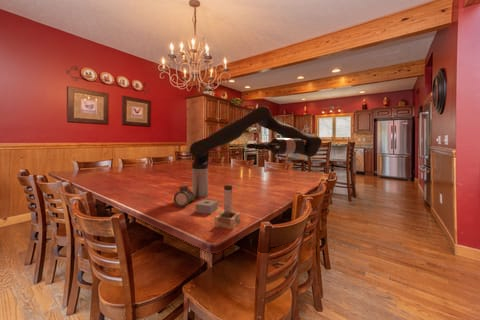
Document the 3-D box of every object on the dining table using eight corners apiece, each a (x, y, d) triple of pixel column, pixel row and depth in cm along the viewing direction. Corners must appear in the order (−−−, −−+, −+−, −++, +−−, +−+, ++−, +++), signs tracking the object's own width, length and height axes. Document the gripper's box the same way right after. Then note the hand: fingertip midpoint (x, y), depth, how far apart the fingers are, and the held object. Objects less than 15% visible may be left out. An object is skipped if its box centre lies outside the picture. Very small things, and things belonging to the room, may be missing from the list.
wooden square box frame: (222, 219, 93) (222, 210, 92) (240, 221, 90) (240, 212, 90) (214, 226, 85) (214, 217, 85) (233, 229, 83) (233, 219, 82)
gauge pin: (225, 222, 90) (225, 185, 88) (233, 223, 89) (233, 185, 87) (222, 225, 87) (222, 186, 85) (230, 226, 86) (230, 187, 84)
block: (203, 207, 109) (203, 199, 109) (217, 208, 107) (217, 201, 106) (195, 212, 102) (195, 204, 101) (210, 214, 99) (210, 205, 99)
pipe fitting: (187, 207, 108) (186, 186, 108) (173, 207, 109) (172, 187, 110) (197, 202, 119) (196, 184, 120) (184, 203, 121) (183, 185, 121)
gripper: (275, 138, 104) (244, 137, 99) (292, 138, 91) (258, 137, 85) (274, 153, 105) (244, 153, 99) (291, 155, 92) (257, 156, 86)
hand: (250, 146), depth 92 cm, fingers open, 8 cm apart
